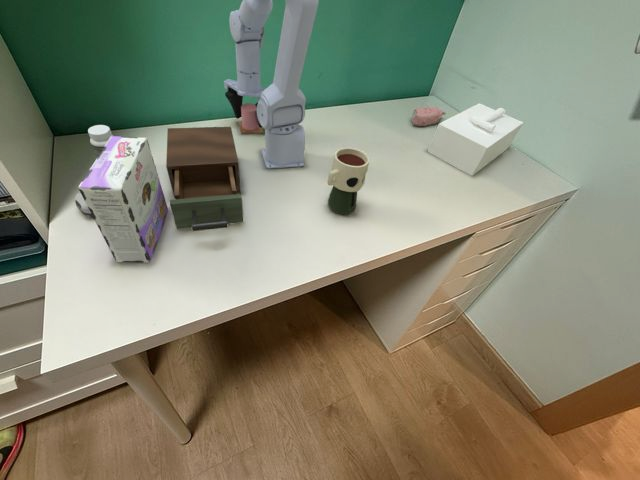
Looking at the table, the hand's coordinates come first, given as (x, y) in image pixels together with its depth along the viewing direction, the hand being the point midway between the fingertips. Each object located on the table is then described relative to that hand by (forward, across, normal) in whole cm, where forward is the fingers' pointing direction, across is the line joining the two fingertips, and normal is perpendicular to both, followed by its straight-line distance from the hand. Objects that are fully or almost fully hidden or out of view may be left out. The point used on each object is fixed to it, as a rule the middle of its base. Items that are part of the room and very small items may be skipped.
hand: (250, 121), depth 91 cm
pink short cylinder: (+1, 0, 0) cm, 1 cm away
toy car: (+2, -4, -41) cm, 41 cm away
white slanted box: (+2, +58, +30) cm, 65 cm away
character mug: (+2, +35, -16) cm, 39 cm away
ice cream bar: (+2, +42, +40) cm, 58 cm away
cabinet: (+2, +5, -24) cm, 25 cm away
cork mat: (+2, 0, 0) cm, 2 cm away
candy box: (+2, +7, -45) cm, 46 cm away
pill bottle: (+2, -15, -33) cm, 36 cm away
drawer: (+1, +13, -34) cm, 37 cm away
